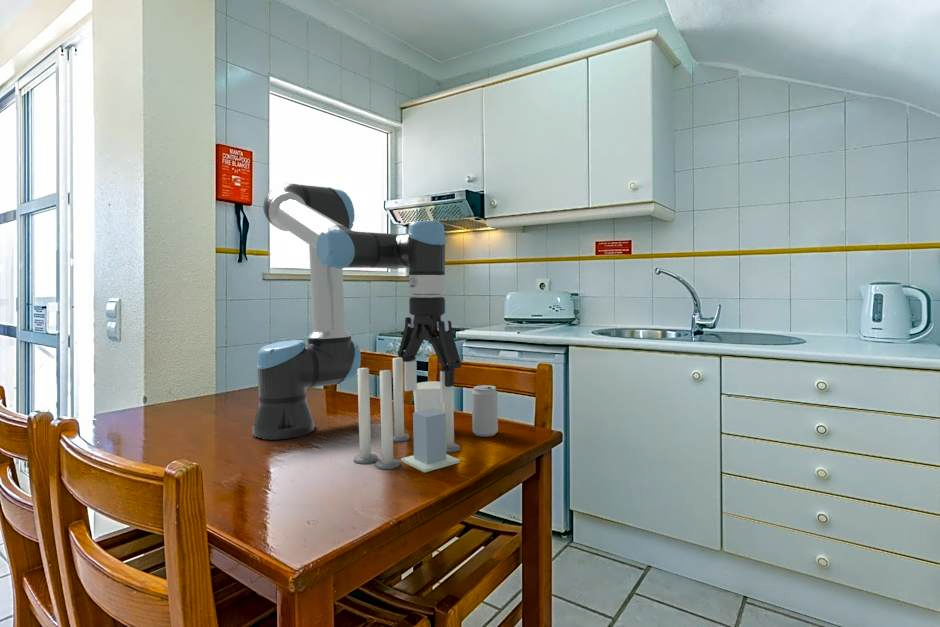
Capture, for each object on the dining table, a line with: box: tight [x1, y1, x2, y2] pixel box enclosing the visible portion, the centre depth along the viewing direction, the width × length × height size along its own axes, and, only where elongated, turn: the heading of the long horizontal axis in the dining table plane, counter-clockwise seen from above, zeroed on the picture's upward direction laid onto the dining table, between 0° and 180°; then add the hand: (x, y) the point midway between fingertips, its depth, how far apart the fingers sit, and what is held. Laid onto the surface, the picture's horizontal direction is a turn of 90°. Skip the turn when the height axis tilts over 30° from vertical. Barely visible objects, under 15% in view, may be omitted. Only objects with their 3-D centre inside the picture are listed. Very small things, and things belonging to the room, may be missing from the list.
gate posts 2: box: [375, 363, 461, 471], centre depth 114 cm, size 5×21×20 cm, turn 129°
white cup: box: [412, 380, 443, 412], centre depth 135 cm, size 10×10×12 cm
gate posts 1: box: [353, 357, 411, 465], centre depth 120 cm, size 5×21×20 cm, turn 161°
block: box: [412, 409, 447, 465], centre depth 111 cm, size 5×5×10 cm
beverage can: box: [471, 384, 499, 438], centre depth 131 cm, size 6×6×12 cm
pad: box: [400, 453, 461, 473], centre depth 111 cm, size 9×9×1 cm
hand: (427, 396), depth 111 cm, fingers open, 13 cm apart
